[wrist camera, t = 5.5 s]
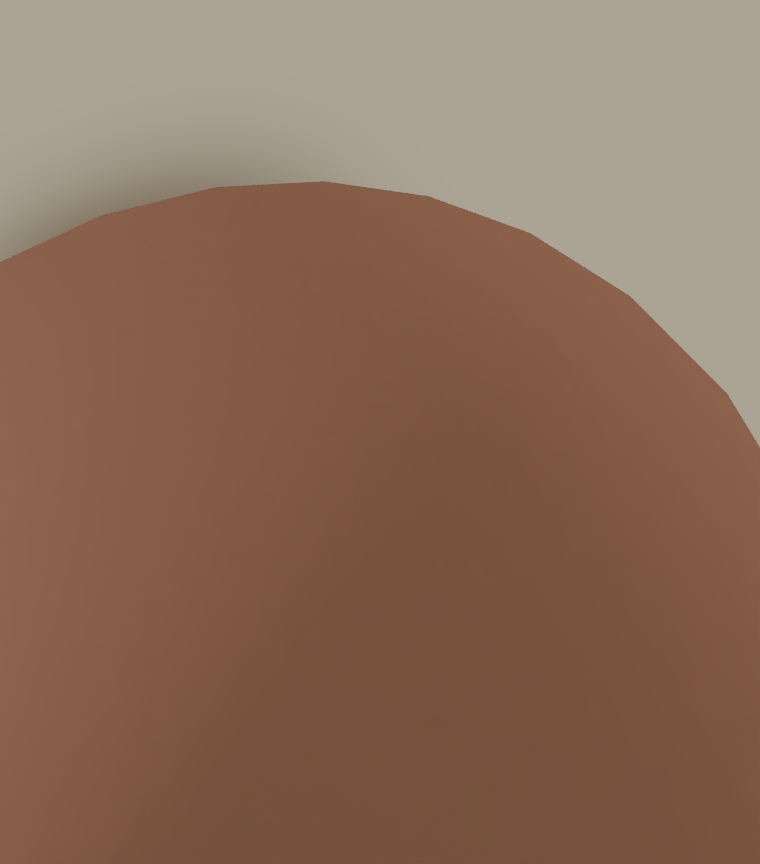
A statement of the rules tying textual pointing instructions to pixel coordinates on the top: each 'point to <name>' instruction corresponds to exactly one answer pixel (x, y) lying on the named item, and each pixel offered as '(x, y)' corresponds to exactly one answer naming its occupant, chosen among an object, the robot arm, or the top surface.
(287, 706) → the coffee jar
